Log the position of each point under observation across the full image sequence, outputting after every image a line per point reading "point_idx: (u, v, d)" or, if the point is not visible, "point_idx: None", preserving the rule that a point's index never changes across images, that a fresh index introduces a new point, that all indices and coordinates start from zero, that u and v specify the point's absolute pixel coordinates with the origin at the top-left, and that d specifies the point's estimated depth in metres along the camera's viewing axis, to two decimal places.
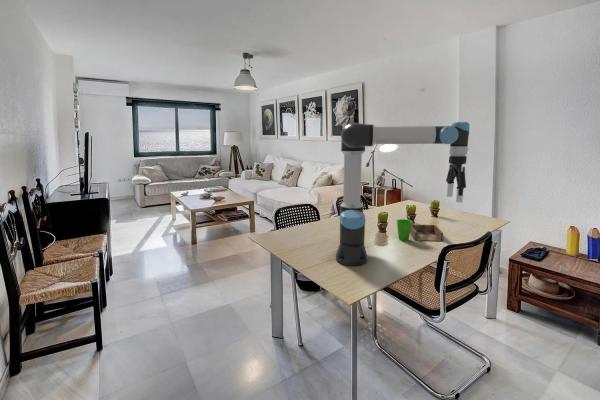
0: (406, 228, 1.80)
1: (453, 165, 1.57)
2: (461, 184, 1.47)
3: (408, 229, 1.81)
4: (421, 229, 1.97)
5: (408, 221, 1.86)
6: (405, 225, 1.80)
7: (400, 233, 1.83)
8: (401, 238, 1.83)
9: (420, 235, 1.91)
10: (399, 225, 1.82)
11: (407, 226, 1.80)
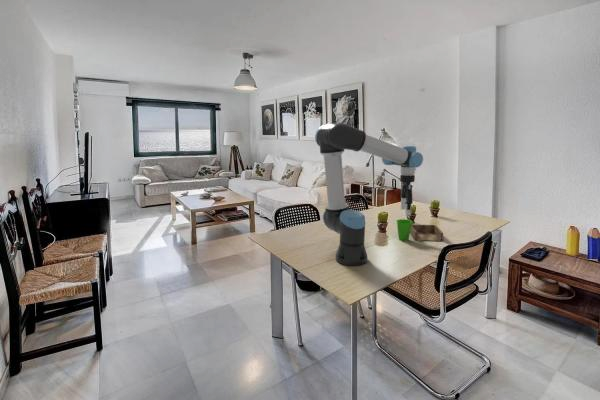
0: (406, 228, 1.80)
1: (404, 183, 1.81)
2: (408, 200, 1.71)
3: (408, 229, 1.81)
4: (421, 229, 1.97)
5: (408, 221, 1.86)
6: (405, 225, 1.80)
7: (400, 233, 1.83)
8: (401, 238, 1.83)
9: (420, 235, 1.91)
10: (399, 225, 1.82)
11: (407, 226, 1.80)
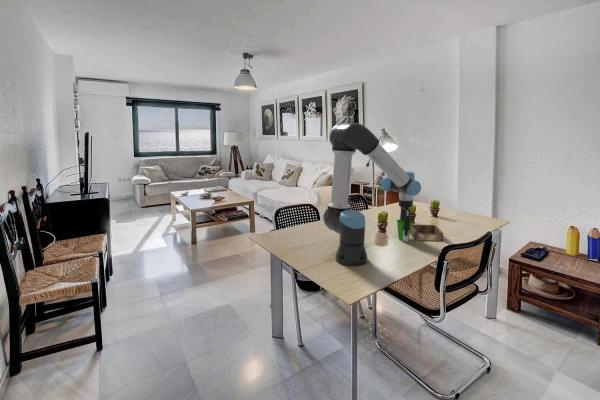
0: None
1: (402, 206, 1.84)
2: (406, 227, 1.76)
3: None
4: (421, 229, 1.97)
5: None
6: None
7: (400, 233, 1.83)
8: (401, 238, 1.83)
9: (420, 235, 1.91)
10: (399, 225, 1.82)
11: None
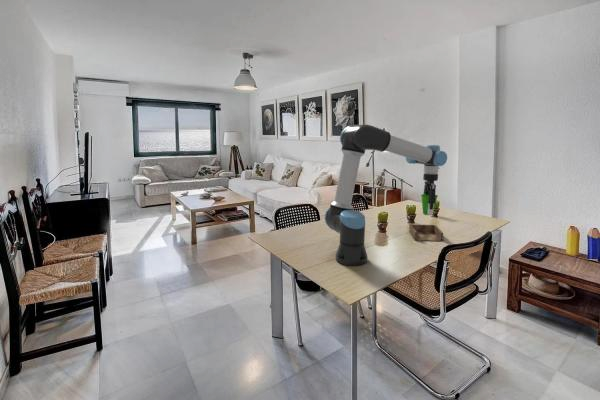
0: None
1: (427, 181, 1.83)
2: (431, 200, 1.76)
3: None
4: (421, 229, 1.97)
5: None
6: None
7: (425, 207, 1.83)
8: (426, 212, 1.83)
9: (420, 235, 1.91)
10: (424, 199, 1.82)
11: None
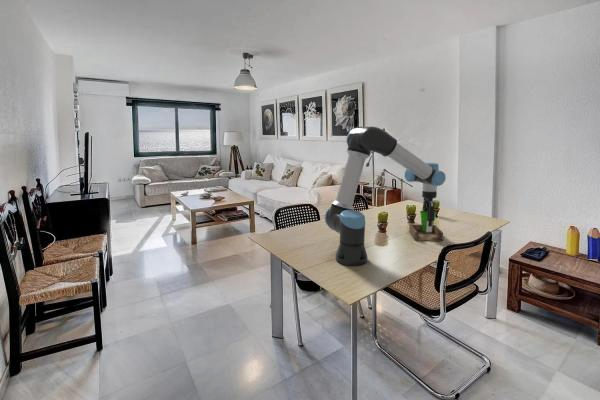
0: None
1: (426, 198, 1.85)
2: (430, 217, 1.78)
3: None
4: (421, 229, 1.97)
5: None
6: None
7: (424, 224, 1.85)
8: (425, 229, 1.85)
9: (420, 235, 1.91)
10: (423, 216, 1.84)
11: None
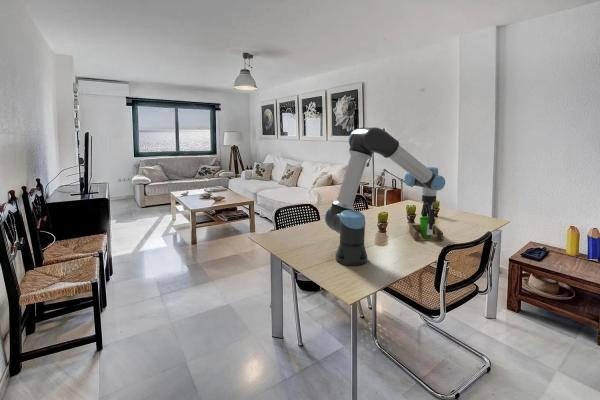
0: None
1: (425, 202, 1.86)
2: (431, 220, 1.76)
3: None
4: None
5: None
6: None
7: (423, 230, 1.85)
8: (424, 235, 1.86)
9: (420, 235, 1.91)
10: (422, 223, 1.84)
11: None
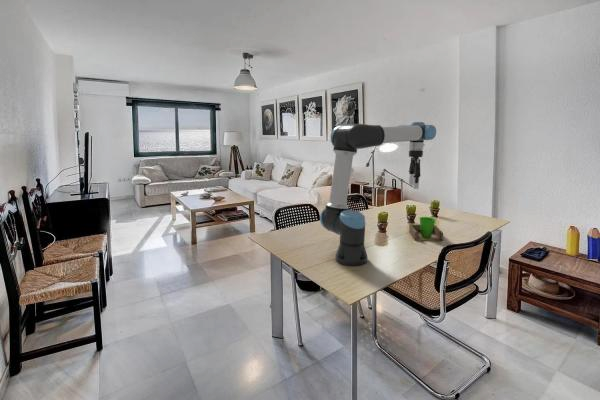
0: (429, 225, 1.83)
1: (412, 158, 1.88)
2: (416, 173, 1.78)
3: (431, 226, 1.84)
4: None
5: (430, 219, 1.89)
6: (428, 222, 1.82)
7: (423, 230, 1.86)
8: (424, 235, 1.86)
9: (420, 235, 1.91)
10: (422, 222, 1.85)
11: (430, 223, 1.83)
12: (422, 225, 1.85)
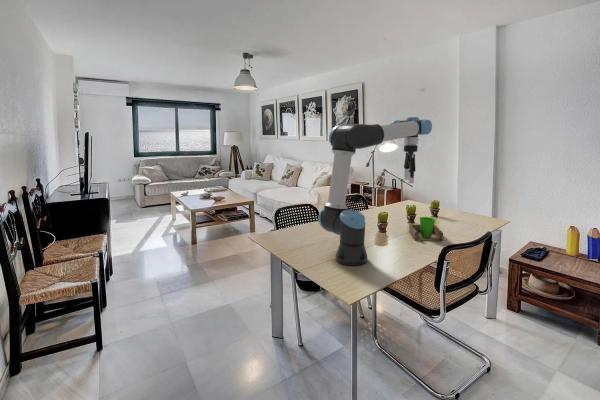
0: (429, 225, 1.83)
1: (407, 153, 1.90)
2: (411, 168, 1.80)
3: (431, 226, 1.84)
4: None
5: (430, 219, 1.89)
6: (428, 222, 1.82)
7: (423, 230, 1.86)
8: (424, 235, 1.86)
9: (420, 235, 1.91)
10: (422, 223, 1.85)
11: (430, 223, 1.83)
12: (422, 225, 1.85)
